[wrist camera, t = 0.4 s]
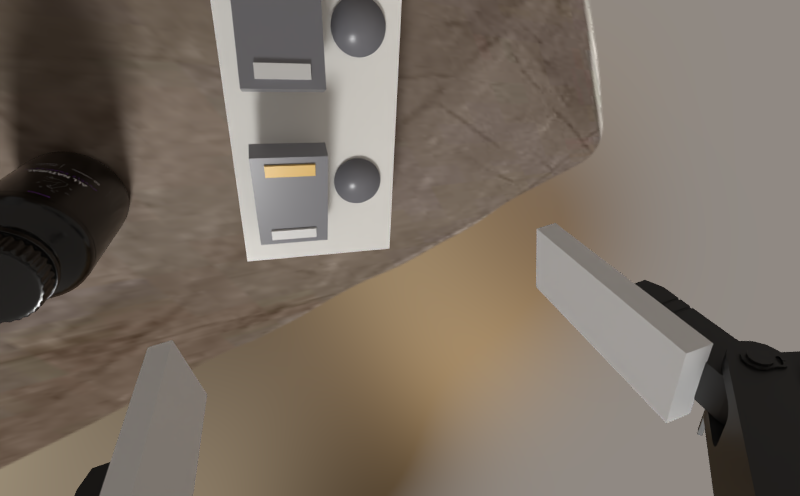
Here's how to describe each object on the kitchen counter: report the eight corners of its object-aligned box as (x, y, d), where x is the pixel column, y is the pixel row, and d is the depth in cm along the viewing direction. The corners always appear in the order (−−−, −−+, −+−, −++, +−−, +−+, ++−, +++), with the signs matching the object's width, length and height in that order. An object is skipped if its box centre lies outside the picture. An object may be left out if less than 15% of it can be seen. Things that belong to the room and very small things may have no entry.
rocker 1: (242, 91, 24) (239, 88, 23) (226, -50, 22) (223, -64, 21) (323, 92, 25) (326, 89, 24) (315, -42, 24) (318, -55, 22)
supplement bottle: (101, 138, 30) (20, 208, 20) (148, 222, 33) (99, 316, 23) (-6, 162, 29) (-149, 249, 19) (54, 246, 32) (-38, 356, 22)
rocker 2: (260, 229, 30) (261, 246, 29) (248, 144, 26) (248, 160, 24) (324, 225, 32) (327, 241, 31) (324, 142, 27) (328, 157, 26)
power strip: (249, 231, 36) (247, 267, 31) (168, -366, 20) (138, -482, 15) (375, 221, 39) (392, 253, 34) (391, -306, 23) (426, -389, 18)
